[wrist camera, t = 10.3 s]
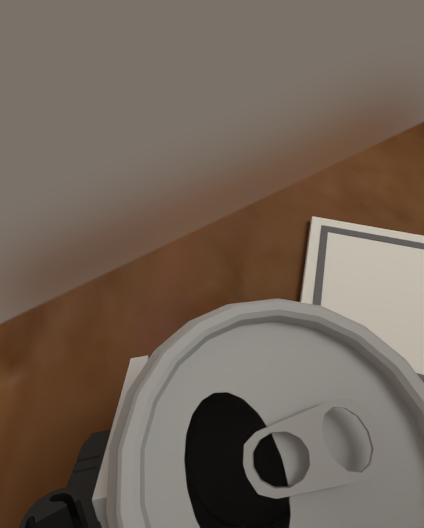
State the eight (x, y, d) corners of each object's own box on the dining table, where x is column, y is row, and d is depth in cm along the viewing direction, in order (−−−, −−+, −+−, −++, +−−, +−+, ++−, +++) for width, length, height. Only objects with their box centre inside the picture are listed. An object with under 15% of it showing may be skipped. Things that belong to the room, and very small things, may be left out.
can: (159, 397, 17) (64, 316, 7) (288, 360, 18) (374, 237, 8) (191, 580, 13) (87, 997, 3) (351, 521, 14) (686, 700, 4)
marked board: (470, 250, 28) (477, 244, 27) (500, 419, 21) (510, 418, 20) (310, 221, 30) (312, 215, 29) (290, 366, 23) (293, 364, 23)
